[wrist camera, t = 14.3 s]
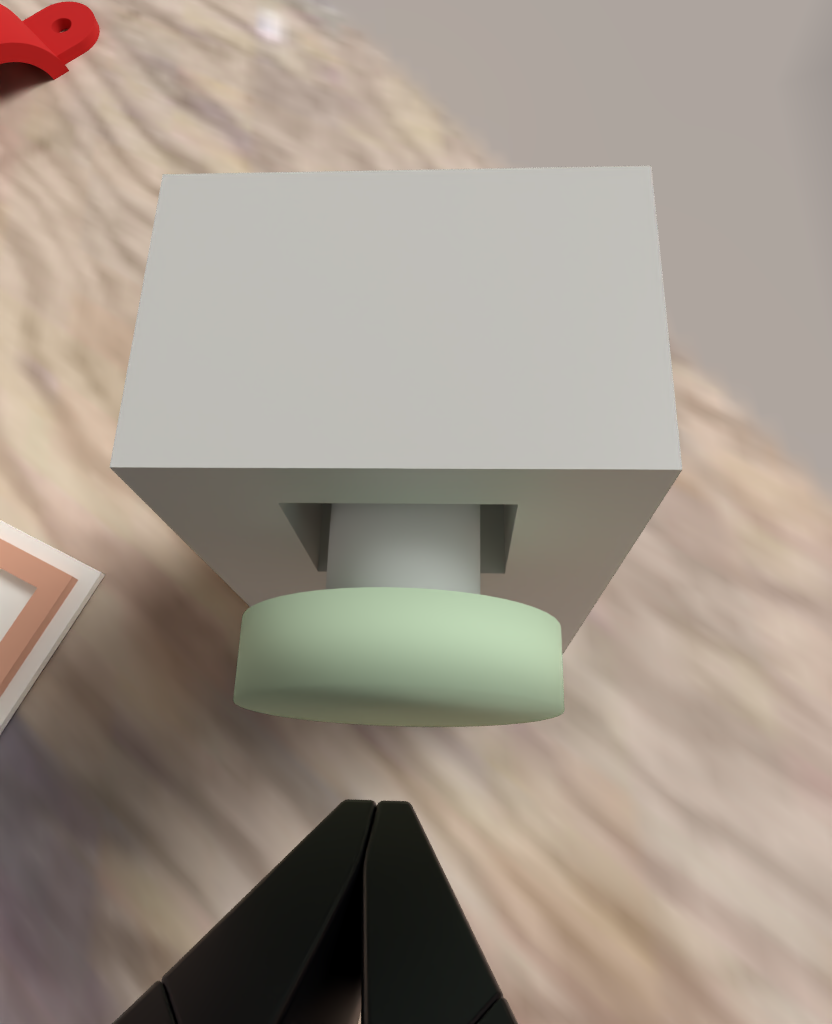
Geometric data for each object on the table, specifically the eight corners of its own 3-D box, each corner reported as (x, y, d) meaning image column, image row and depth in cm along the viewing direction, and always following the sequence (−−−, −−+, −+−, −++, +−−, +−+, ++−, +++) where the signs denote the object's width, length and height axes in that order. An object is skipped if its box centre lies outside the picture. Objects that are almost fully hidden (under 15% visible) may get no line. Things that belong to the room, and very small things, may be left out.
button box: (560, 658, 18) (681, 469, 8) (296, 653, 18) (110, 467, 8) (554, 493, 19) (651, 165, 9) (309, 492, 20) (162, 174, 10)
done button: (546, 729, 11) (588, 688, 8) (273, 723, 12) (186, 680, 8) (534, 340, 14) (561, 165, 10) (308, 341, 14) (253, 170, 10)
